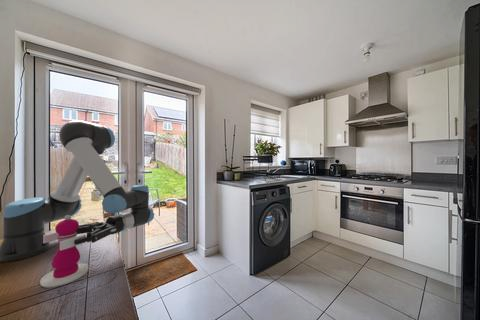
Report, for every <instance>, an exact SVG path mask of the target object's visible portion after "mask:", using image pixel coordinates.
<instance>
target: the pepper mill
mask: <svg viewBox="0 0 480 320" xmlns="http://www.w3.org/2000/svg"><path fill="white" fill-rule="evenodd" d="M79 225H80V224H79V221H78V220H76V219H73V218H72V216H70V215H67V216H65V217H64V219H62V220H60V221H59V222H58V223H57V224H56V226H55V229H54V230H55V232H56V233H58V234H59V235H58V236H57V237H58V238H57V240H56V241H58V247H57V251H56V253H55V254H54V256H53V258H52V261H51V267H52V268H53V269H54V270H53V271H54V272H53V277H54V278H62V277H66V276H69V275H71V274H73V273H75V272H76V271H77V270H78V264H79V263H78V262H79V261H80V260H81V253H80V251H79V249H78V248H77V245H76V246H73V247H70V248H67V249H64V250H60V241H64V240H67V239H70V238H74V237H77V236H78V234H76V233H77V232H76V230H77V229H78V227H79Z"/></svg>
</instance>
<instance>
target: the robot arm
mask: <svg viewBox="0 0 480 320" xmlns="http://www.w3.org/2000/svg"><path fill="white" fill-rule="evenodd" d="M59 139H60V140H59V141H60V143H61V144H62V147H63V148H64V149H65V150H66V151H67V152H69V153H71V154H72V156H73V157H72V160H71V161H70V164H69V166H67V167H68V168H67V169H66V171H65V173H64V175H63V177H62V179H61V181H60V183H59V184H58V187H57V188H56V189H55V190H53V191H51V192H50V194H49V196H48V197H47V198H46V199H45V198H44V197H41V196H40V197H30V198H24V199H19V200H14V201H12V202H10V203H8V204H6V205H5V206H4V210H3V214H2V216H3V234H2V235H3V236H2V237H3V239H2V242H1V244H0V263H9V262H14V261H19V260H24V259H27V258H31V257H35V256H37V255H39V254H42V253H43V252H46V251H48V250H49V248H50V243H51V242H55V241H58V240H57V238H58V237H57V236H58V235H59V234H58V233H56V231H55V232H51V233H45V224H50V223H53V222H58V221H62V220H65V219H64V217H65V216H67V215H70V216H71V217H74V216H75V215H77V214H78V213H79V212H80V210H81V208H82V205H83V204H82V199H81V196H80V194H79V193H80V192H81V189H82V187H83V186H84V184H85V181H86V180H87V178H88V177H89V179H90V181H91V182H92V183H93V184H94V186H95V188H96V189H97V191H98V192H99V194H100V195H101V196H102V197H103V199H102V201H101V205H102V210H103V211H104V212H105V213H106V214H110V215H111V216H109V217H107V218H106V220H105V222H104V221H101V222H99V221H96V222H91V223H86V224H85V223H84V224H79V227H78V229H77V230H76V232H77V233H76V234H77V236H76V237H74V238H70V239H67V240H64V241H60V250H64V249H67V248H70V247H73V246H76V247H77V246H79V245H82V244H85V243H86V244H87V243H90V242H91V243H96V242H98V241H100V240H102V239H105V238H107V237H108V236H110V235H115V234H118V233H121V232H123V231H124V232H127V231H128V230H131V229H134V228H136V227H140V226H144V225H145V224H146V225H147V224H149V223H150V222H152V221H153V219H154V218H155V212H154V210H153V208H151V207H149V201H150V200H149V199H150V198H149V197H150V191H149V186H148V185H147V184H136V185H132V186H131V189H130V190H129V191H125V189H124V188H123V186H122V185H121V183H120V182H119V180H118V179H117V178H116V177H115V175H114V173H113V172H112V171H111V169H110V168H109V167H108V165H107V164H106V162H105V161H104V160H103V159H102V157H101V156H102V155H103V154H104V153H105V151H106V149H107V150H108V149H110V148H112V147H113V146H114V144H115V142H116V136H115V134H114V131H113V130H111V128H109V127H106V126H104V125H101V124H98V123H97V124H96V123H94V122H93V123H92V122H89V121H84V120H79V119H78V120H70V121H68V122H66V123H64V125H63V126H62V127H61V128H60V131H59ZM129 209H130V210H131V211H128V212H124V211H126V210H129ZM121 212H122V213H121ZM123 212H124V213H123ZM116 213H119V214H116ZM113 214H115V215H113Z"/></svg>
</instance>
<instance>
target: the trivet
mask: <svg viewBox="0 0 480 320" xmlns="http://www.w3.org/2000/svg"><path fill="white" fill-rule="evenodd" d="M77 264H78V270H77V271H76V272H75V273H73V274H71V275H69V276H66V277H62V278H54V277H53V272H54V270H52V271H50V272H48V273H46V274H45V275H43V277H42V278H40V280H39V281H40V282H39V284H40V287H42V288H46V289H47V288H56V287H60V286H64V285H66V284H69V283H72V282H75V281H76V280H79V279H81V278H82V277H83V276H85V275H86V274H87V273H88V272H89V265H88V264H87V263H77Z"/></svg>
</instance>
